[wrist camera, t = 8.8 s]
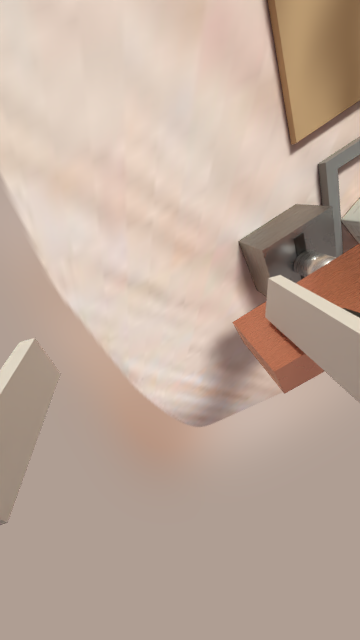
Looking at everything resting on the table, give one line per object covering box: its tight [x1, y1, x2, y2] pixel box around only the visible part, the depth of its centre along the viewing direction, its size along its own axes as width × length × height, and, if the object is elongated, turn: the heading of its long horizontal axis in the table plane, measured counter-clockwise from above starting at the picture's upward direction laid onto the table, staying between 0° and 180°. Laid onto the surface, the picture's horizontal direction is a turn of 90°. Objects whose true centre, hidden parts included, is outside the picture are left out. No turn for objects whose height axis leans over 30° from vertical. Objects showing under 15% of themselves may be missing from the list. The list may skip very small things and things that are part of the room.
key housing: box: [239, 204, 337, 297], centre depth 19 cm, size 6×6×4 cm
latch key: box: [233, 244, 360, 393], centre depth 14 cm, size 2×10×8 cm, turn 121°
